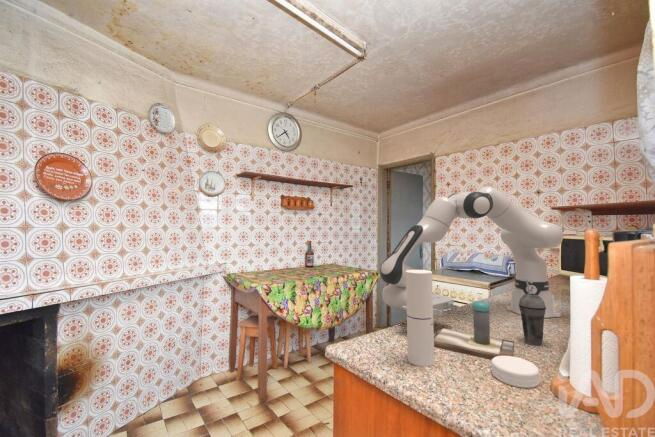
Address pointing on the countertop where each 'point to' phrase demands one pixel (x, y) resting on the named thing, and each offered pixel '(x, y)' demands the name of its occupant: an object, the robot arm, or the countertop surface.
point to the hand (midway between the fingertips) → (450, 311)
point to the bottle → (481, 322)
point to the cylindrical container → (420, 317)
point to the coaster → (515, 371)
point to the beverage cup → (532, 317)
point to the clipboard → (472, 344)
